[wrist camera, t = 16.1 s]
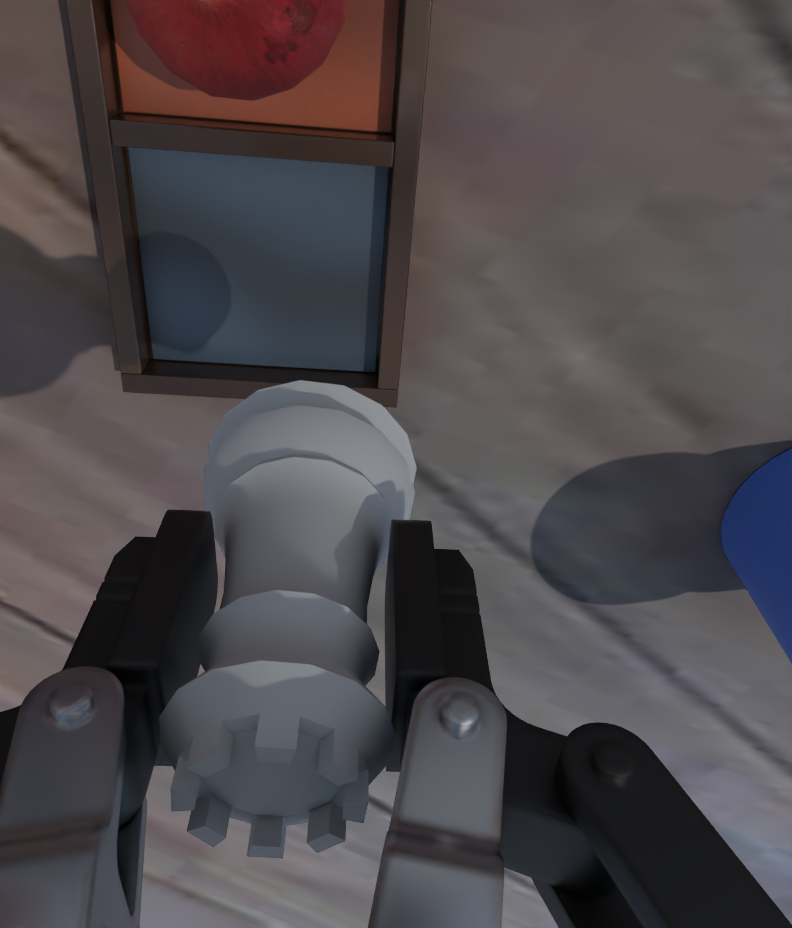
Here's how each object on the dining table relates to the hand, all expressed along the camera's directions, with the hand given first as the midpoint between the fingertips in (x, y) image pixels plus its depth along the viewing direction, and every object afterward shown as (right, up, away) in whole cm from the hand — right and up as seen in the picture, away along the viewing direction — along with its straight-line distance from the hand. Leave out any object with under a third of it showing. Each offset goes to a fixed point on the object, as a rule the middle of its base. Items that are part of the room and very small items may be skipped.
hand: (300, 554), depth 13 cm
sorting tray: (-3, +13, +12) cm, 18 cm away
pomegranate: (-2, +16, +9) cm, 19 cm away
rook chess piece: (0, +2, +3) cm, 3 cm away
